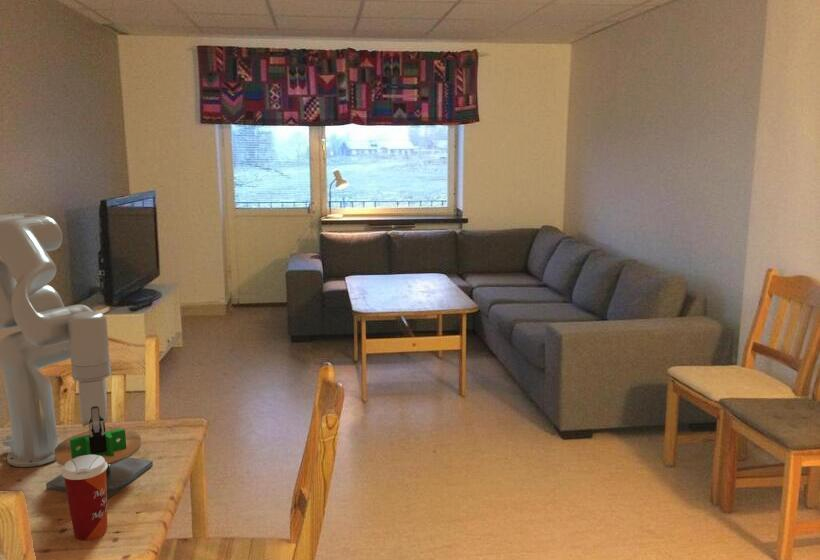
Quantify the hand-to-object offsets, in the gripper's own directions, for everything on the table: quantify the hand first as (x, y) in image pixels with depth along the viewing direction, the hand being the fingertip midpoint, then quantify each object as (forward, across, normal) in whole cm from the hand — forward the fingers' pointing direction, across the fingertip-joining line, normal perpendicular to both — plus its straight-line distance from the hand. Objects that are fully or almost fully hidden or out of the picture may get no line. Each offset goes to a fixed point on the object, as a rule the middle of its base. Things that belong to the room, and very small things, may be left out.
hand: (98, 443), depth 153 cm
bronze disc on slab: (+11, -6, 0) cm, 13 cm away
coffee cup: (+11, +17, -3) cm, 21 cm away
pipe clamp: (+3, 0, 0) cm, 3 cm away
